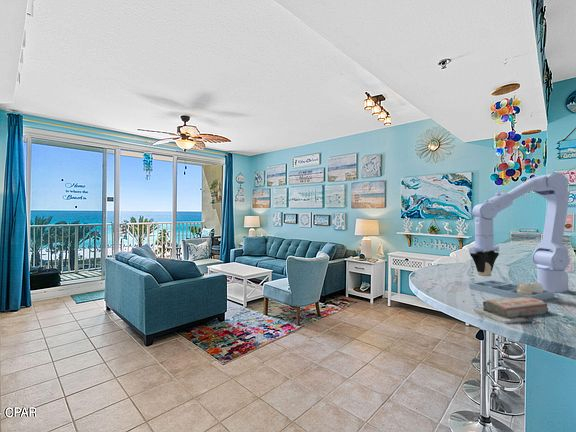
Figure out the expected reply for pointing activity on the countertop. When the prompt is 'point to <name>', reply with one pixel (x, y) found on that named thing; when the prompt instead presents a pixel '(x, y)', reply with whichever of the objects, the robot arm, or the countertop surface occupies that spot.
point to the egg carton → (507, 290)
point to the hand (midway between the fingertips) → (484, 271)
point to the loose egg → (486, 270)
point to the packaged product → (512, 309)
